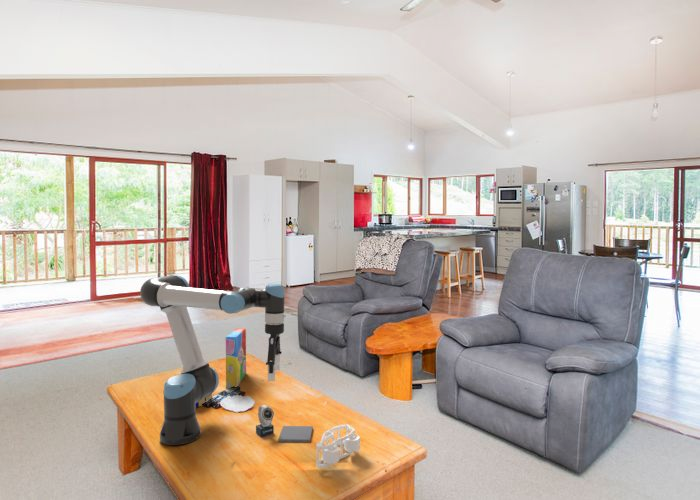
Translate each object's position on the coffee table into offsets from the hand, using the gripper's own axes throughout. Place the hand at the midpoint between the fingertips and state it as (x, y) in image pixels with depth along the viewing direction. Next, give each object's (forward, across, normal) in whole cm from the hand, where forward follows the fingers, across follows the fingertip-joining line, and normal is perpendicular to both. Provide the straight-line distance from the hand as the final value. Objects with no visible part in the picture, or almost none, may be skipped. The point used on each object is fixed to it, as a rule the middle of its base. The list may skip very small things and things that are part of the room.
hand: (273, 375), depth 185 cm
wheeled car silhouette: (+22, -23, -26) cm, 41 cm away
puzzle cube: (+23, +30, +40) cm, 55 cm away
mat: (+22, -6, -10) cm, 25 cm away
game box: (+23, +56, +27) cm, 67 cm away
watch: (+22, -4, +2) cm, 23 cm away
